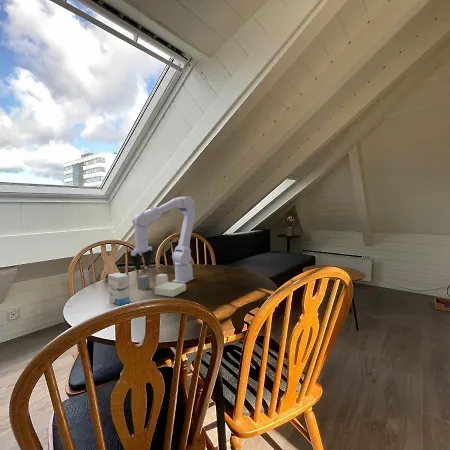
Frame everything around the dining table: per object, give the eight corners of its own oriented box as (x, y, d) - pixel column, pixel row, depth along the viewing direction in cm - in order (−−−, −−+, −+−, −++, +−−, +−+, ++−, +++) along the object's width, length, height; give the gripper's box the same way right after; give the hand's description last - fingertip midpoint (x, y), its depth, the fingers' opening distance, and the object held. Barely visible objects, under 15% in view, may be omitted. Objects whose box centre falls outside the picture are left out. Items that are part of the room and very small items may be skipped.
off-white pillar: (161, 285, 141) (160, 273, 141) (167, 286, 139) (167, 274, 139) (156, 287, 138) (155, 275, 137) (162, 288, 136) (162, 276, 135)
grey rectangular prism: (143, 286, 140) (143, 274, 139) (150, 287, 138) (149, 275, 138) (137, 289, 136) (137, 276, 136) (144, 290, 134) (143, 277, 134)
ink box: (130, 302, 117) (128, 274, 116) (119, 306, 114) (117, 277, 113) (120, 298, 123) (118, 272, 122) (109, 301, 119) (107, 274, 118)
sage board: (168, 287, 137) (168, 281, 136) (185, 290, 132) (185, 283, 132) (154, 294, 128) (154, 287, 127) (173, 296, 123) (172, 290, 123)
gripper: (142, 237, 141) (143, 264, 142) (124, 241, 127) (126, 271, 128) (155, 237, 139) (156, 265, 140) (138, 241, 125) (139, 271, 126)
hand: (142, 268), depth 134 cm, fingers open, 7 cm apart
